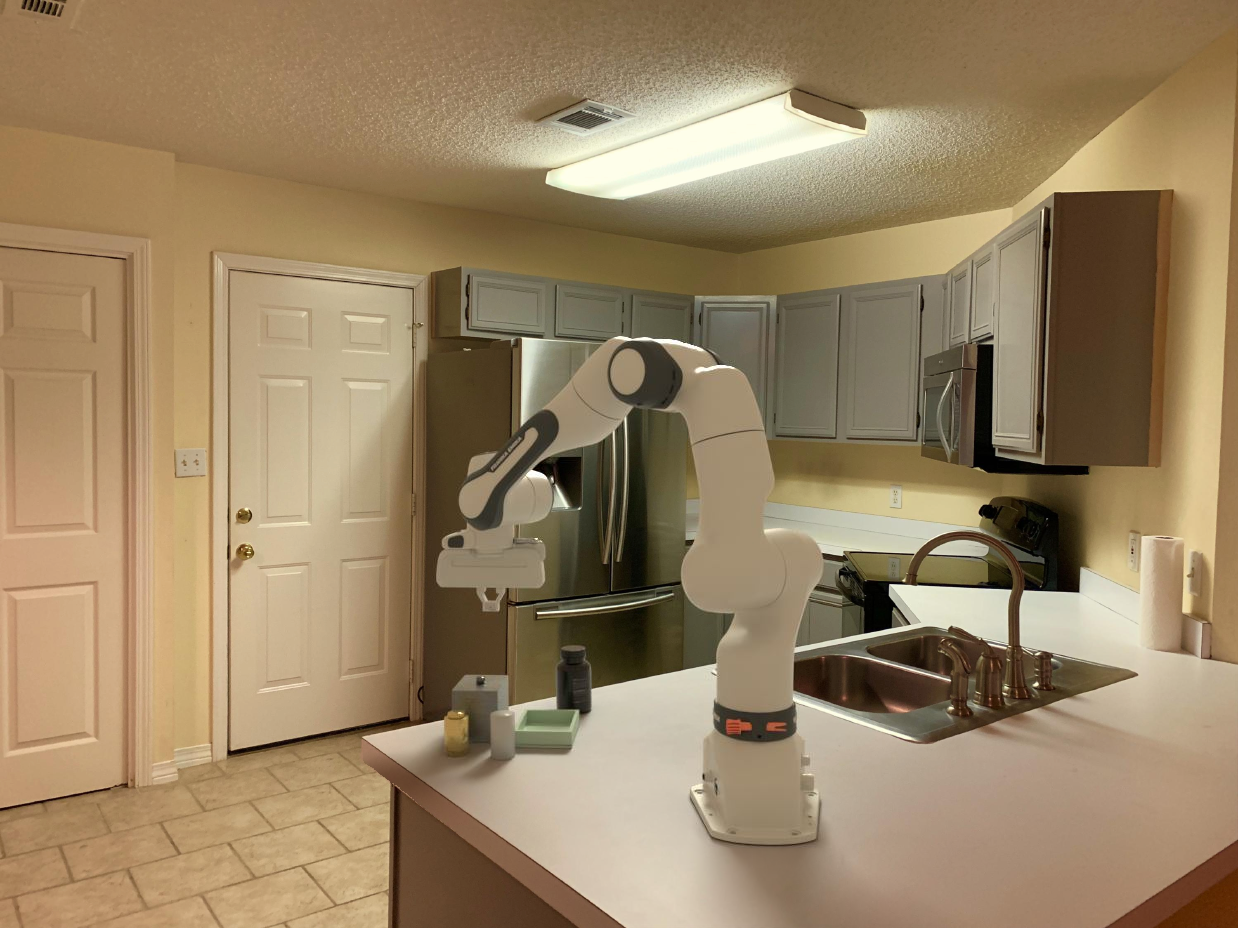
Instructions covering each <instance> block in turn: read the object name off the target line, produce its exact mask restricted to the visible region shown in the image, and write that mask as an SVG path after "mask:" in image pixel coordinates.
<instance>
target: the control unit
mask: <svg viewBox="0 0 1238 928" xmlns="http://www.w3.org/2000/svg"><path fill="white" fill-rule="evenodd" d="M509 699H510V697H509V674H505V675H504V674H465V675H464V676H462V678H461V679H460V680H459V681H458V682H457V684H456V685H454V687H453V688H452V689H451V711H453V710H462V711H464V712H465V714H466V715H468V718H469V743H482V744H483V743H485V744H487V743H489V744H491V724H490V714H491V713H492V712H495V711H500V710H509V701H510V700H509ZM509 711H510V710H509Z"/></svg>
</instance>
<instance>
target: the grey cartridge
mask: <svg viewBox="0 0 1238 928" xmlns="http://www.w3.org/2000/svg"><path fill="white" fill-rule="evenodd" d="M490 724H491V743H490V758H491V759H493V760H495V761H508V760H511V759H513V758H515V756H516V747H515V727H516V714H515V712H514V711H513V710H500V711H495V712H492V713H491V714H490Z"/></svg>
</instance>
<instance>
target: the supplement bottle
mask: <svg viewBox="0 0 1238 928" xmlns="http://www.w3.org/2000/svg"><path fill="white" fill-rule="evenodd" d="M559 655H560V658H559V659H561V660H560V661H558V663H556V666H555V691H556V693H555V697H556V698H555V699H556V709H557V710H579V715H580V714H585V713H587V712H589V711H591V709H592V705H593V701H592V699H593V697H592V696H593V695H592V692H593V691H592V667H591V663H590V662H589V661H587V660H586V657H587V656H586V647H585V646H583V645H573V644H572V645H566V646H562V647H561V648H560V654H559Z"/></svg>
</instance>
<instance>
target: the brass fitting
mask: <svg viewBox="0 0 1238 928" xmlns="http://www.w3.org/2000/svg"><path fill="white" fill-rule="evenodd" d="M443 723H444V724H443V725H444V727H443V729H444V734H443V735H444V736H443V737H444V738H443V739H444V743H443V745H444V756H446V757H450V758H461V757H464V756H467V755H468V754H469V752H470V744H469V743H470V742H469V718H468V715H466V714H465V712H464V711H462V710H453V711H452V710H449V711H448V712H447V715H445V716H444V718H443Z"/></svg>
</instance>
